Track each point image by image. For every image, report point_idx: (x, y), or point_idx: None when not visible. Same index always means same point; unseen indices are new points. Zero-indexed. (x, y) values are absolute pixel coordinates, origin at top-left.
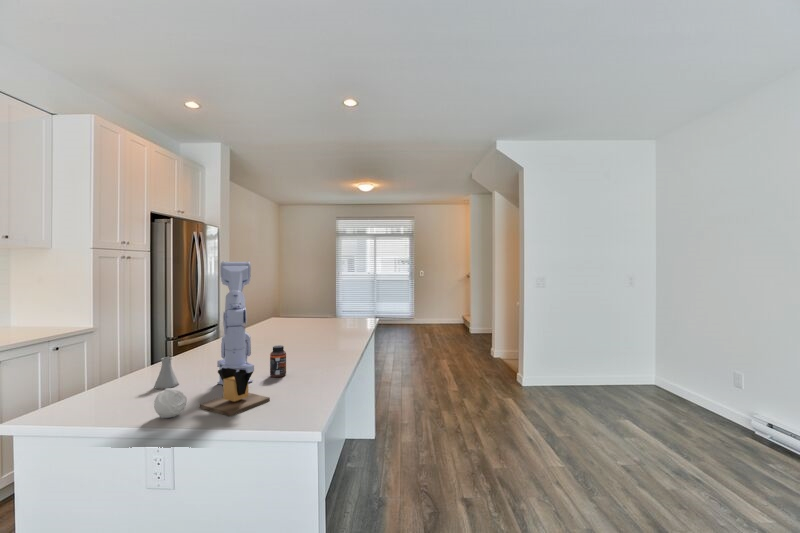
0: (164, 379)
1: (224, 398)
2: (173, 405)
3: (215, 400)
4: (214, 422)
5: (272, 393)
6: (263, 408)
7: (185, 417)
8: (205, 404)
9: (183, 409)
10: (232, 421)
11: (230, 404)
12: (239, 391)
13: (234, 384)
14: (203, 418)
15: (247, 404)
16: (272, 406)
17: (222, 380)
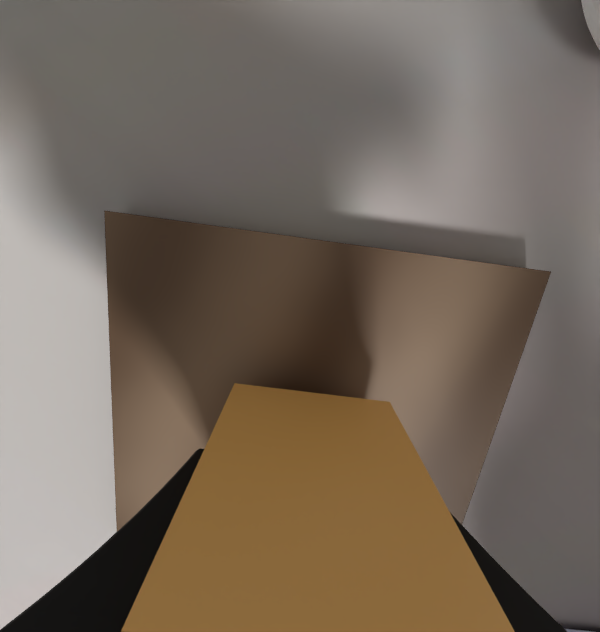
0: None
1: (375, 402)
2: None
3: (474, 388)
4: (130, 53)
5: None
6: (47, 424)
7: (484, 38)
8: (492, 289)
9: (592, 23)
10: (13, 137)
11: (274, 363)
12: (172, 481)
13: (159, 549)
14: (302, 89)
15: (144, 408)
16: (26, 469)
17: (559, 626)
